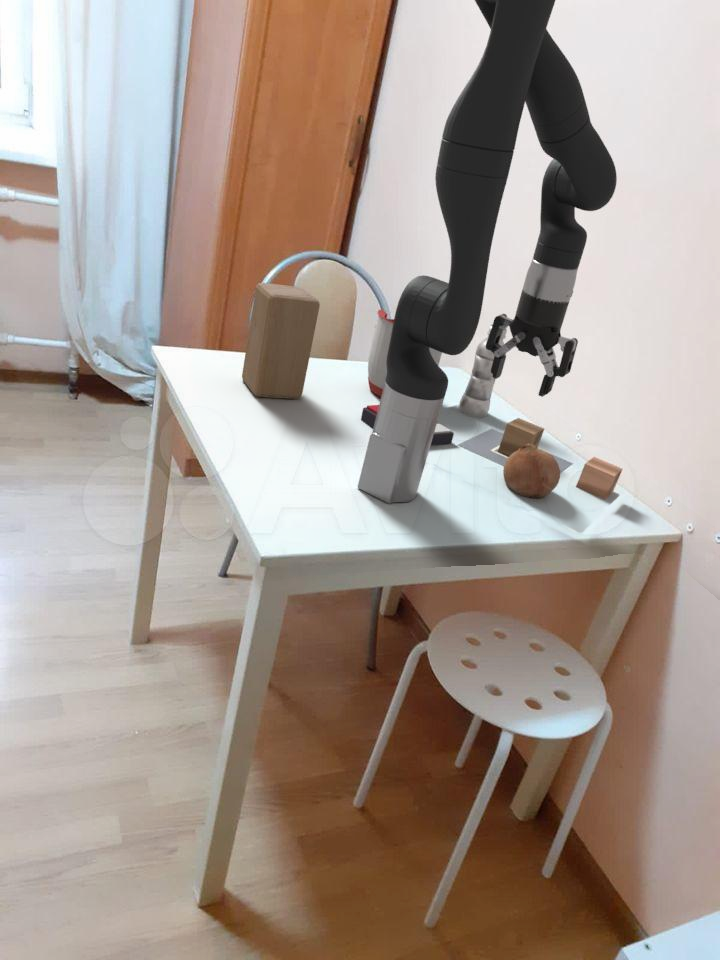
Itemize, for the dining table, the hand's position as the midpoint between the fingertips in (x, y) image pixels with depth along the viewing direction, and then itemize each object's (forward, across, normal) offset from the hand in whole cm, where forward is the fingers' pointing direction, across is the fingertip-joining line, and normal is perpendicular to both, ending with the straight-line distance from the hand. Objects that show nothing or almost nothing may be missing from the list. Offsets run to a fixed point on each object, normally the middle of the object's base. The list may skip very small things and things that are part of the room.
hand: (519, 386), depth 121 cm
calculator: (+18, -19, 0) cm, 26 cm away
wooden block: (+17, -46, -7) cm, 50 cm away
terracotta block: (+19, +16, +10) cm, 27 cm away
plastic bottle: (+20, -16, +24) cm, 35 cm away
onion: (+18, +7, -3) cm, 19 cm away
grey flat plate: (+19, 0, +11) cm, 22 cm away
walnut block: (+18, 0, +11) cm, 21 cm away
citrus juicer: (+20, -33, +18) cm, 43 cm away
